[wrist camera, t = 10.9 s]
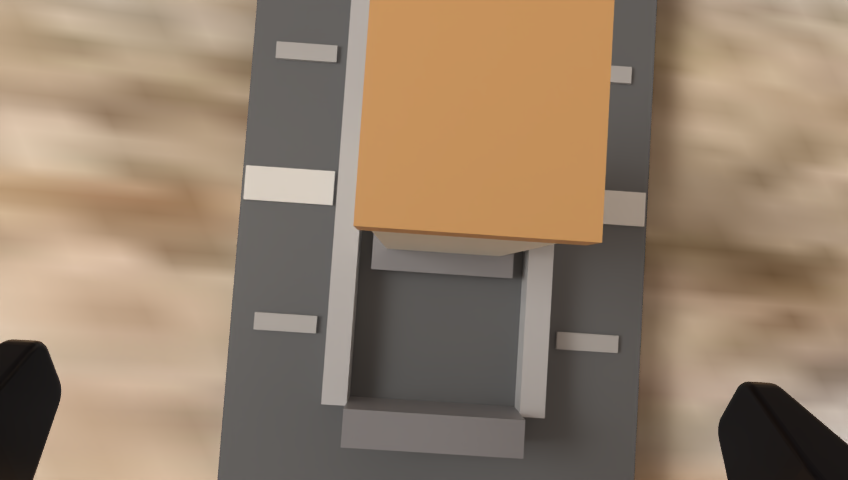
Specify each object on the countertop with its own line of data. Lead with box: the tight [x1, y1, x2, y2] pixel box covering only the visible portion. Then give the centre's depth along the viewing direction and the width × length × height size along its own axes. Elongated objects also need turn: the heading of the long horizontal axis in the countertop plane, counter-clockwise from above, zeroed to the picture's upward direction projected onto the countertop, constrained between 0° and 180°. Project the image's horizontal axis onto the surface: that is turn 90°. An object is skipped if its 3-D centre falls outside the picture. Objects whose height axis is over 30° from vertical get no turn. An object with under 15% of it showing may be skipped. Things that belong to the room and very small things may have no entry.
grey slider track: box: [218, 0, 657, 480], centre depth 19 cm, size 24×12×3 cm, turn 176°
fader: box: [353, 0, 615, 278], centre depth 14 cm, size 4×4×10 cm
